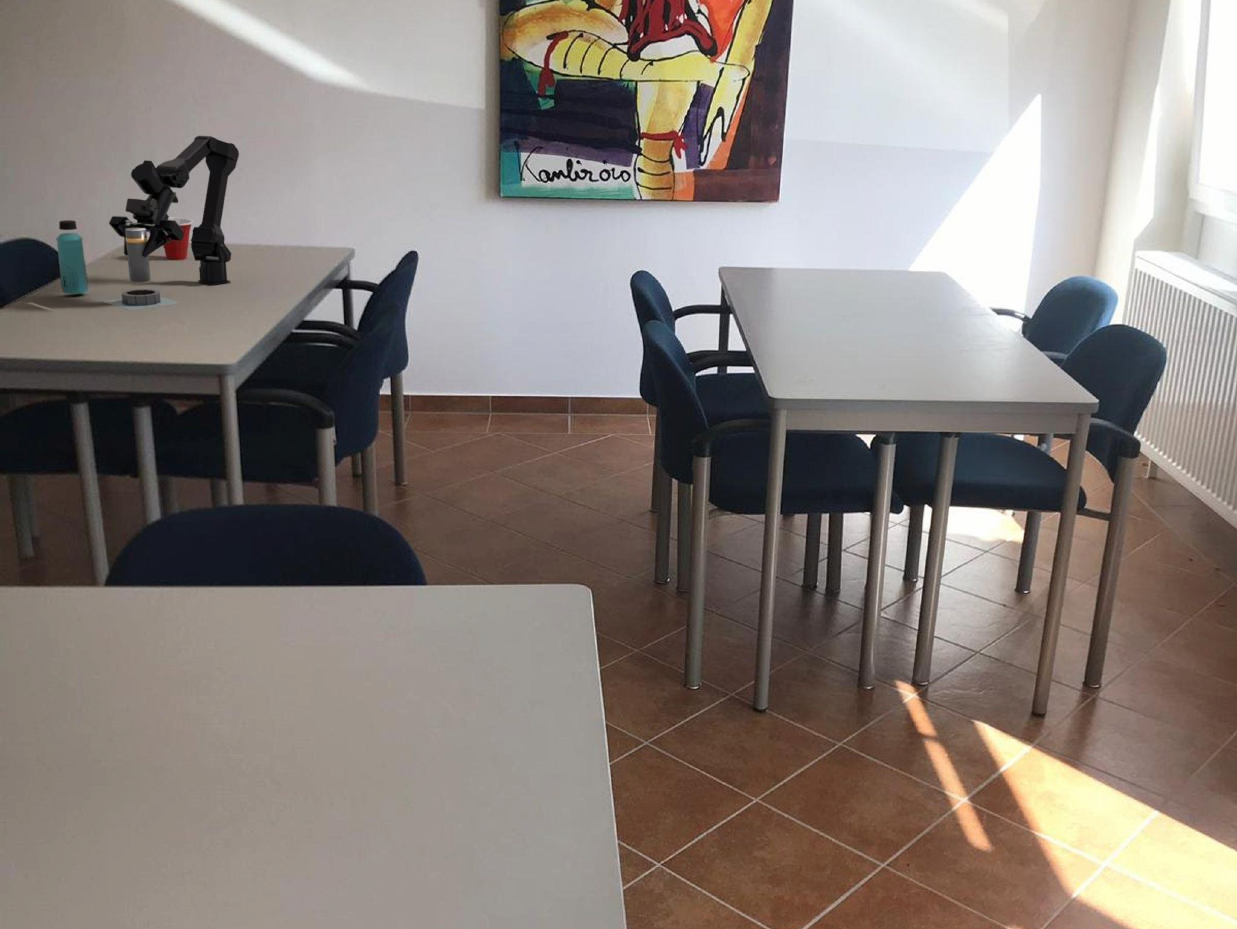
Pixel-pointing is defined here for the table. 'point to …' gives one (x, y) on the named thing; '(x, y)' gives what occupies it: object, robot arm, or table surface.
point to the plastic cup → (176, 248)
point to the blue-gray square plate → (119, 304)
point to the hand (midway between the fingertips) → (134, 255)
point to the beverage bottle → (71, 260)
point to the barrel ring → (141, 297)
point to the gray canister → (137, 255)
